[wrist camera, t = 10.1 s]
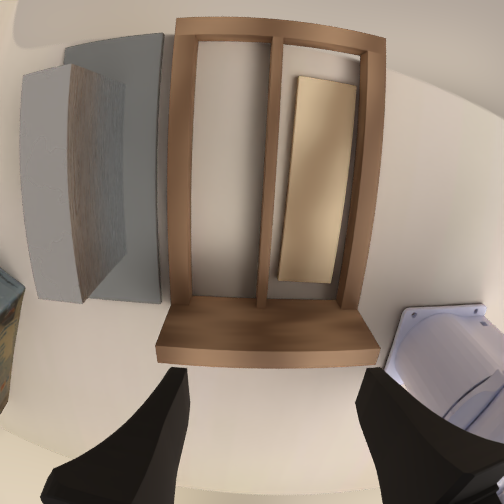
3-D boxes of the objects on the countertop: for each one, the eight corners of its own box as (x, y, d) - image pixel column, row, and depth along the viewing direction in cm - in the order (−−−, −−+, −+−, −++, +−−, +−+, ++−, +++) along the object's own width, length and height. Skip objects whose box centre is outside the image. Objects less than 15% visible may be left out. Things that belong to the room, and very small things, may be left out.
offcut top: (353, 87, 18) (356, 86, 17) (328, 279, 22) (330, 283, 21) (297, 78, 17) (299, 75, 17) (277, 276, 22) (278, 280, 21)
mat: (164, 34, 16) (162, 32, 16) (161, 301, 22) (160, 304, 22) (68, 49, 16) (65, 47, 15) (76, 294, 22) (74, 296, 21)
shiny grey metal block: (125, 84, 17) (71, 63, 10) (126, 253, 20) (82, 303, 14) (86, 89, 16) (23, 75, 10) (90, 251, 20) (38, 298, 14)
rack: (377, 43, 16) (421, 17, 11) (348, 314, 23) (375, 364, 17) (180, 25, 16) (157, -14, 10) (176, 309, 22) (157, 362, 17)
